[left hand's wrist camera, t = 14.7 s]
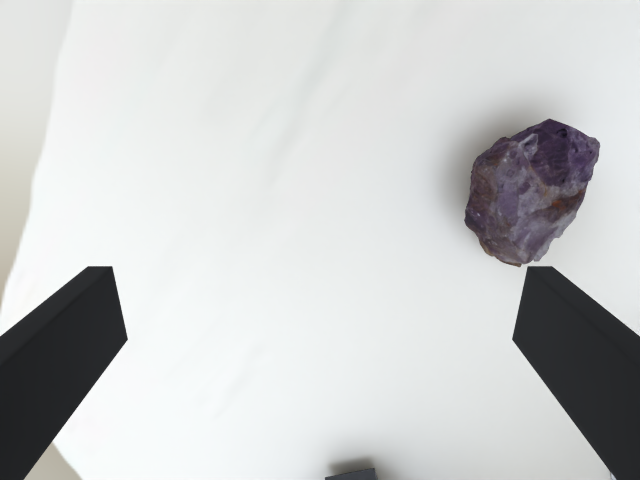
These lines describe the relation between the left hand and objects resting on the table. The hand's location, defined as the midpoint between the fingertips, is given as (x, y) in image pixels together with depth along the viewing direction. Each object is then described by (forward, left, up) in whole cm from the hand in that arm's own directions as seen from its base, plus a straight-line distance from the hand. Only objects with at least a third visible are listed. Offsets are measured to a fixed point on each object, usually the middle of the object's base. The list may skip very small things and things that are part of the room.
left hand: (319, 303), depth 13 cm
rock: (+2, +16, -25) cm, 30 cm away
